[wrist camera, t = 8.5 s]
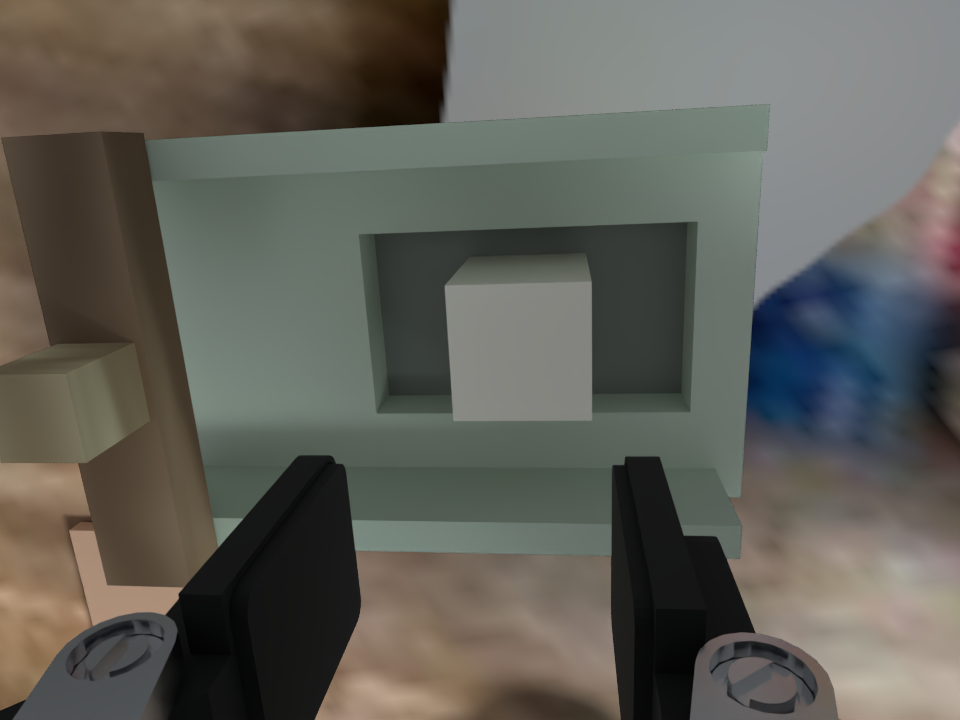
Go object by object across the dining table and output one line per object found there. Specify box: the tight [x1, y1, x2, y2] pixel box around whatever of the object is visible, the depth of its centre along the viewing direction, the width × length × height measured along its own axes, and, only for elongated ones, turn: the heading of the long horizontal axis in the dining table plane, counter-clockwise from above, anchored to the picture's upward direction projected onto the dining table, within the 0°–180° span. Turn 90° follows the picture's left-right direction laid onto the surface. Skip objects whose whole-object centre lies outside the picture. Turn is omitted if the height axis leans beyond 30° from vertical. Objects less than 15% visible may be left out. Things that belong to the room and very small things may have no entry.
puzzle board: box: [145, 104, 770, 559], centre depth 25 cm, size 26×14×7 cm, turn 93°
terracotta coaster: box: [69, 522, 183, 626], centre depth 34 cm, size 8×8×1 cm
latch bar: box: [0, 132, 218, 588], centre depth 21 cm, size 3×14×5 cm, turn 3°
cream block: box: [445, 253, 592, 421], centre depth 25 cm, size 4×4×6 cm
